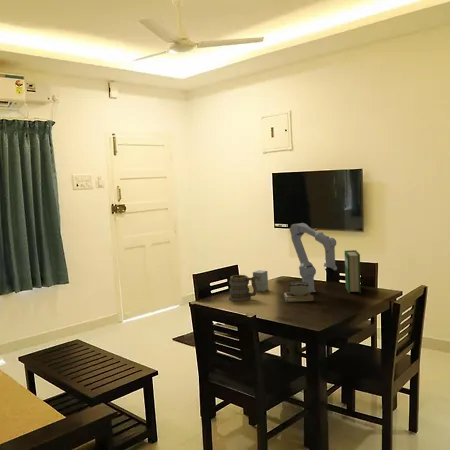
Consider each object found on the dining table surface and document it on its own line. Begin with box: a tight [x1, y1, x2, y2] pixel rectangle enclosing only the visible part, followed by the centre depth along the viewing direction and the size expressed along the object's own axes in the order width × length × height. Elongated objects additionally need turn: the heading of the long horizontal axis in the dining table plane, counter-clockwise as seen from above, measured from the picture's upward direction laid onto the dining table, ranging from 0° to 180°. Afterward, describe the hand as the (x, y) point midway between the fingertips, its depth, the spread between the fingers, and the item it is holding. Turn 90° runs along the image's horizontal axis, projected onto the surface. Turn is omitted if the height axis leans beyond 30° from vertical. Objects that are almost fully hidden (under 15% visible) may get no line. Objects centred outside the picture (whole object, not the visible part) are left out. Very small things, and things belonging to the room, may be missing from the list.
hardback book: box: [344, 249, 362, 294], centre depth 306 cm, size 18×7×24 cm, turn 172°
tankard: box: [228, 274, 260, 302], centre depth 297 cm, size 20×13×15 cm, turn 65°
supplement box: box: [252, 269, 269, 292], centre depth 319 cm, size 7×7×13 cm
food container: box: [288, 281, 309, 296], centre depth 291 cm, size 12×6×10 cm, turn 76°
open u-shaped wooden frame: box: [283, 292, 314, 303], centre depth 290 cm, size 11×16×3 cm
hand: (330, 279), depth 296 cm, fingers closed
